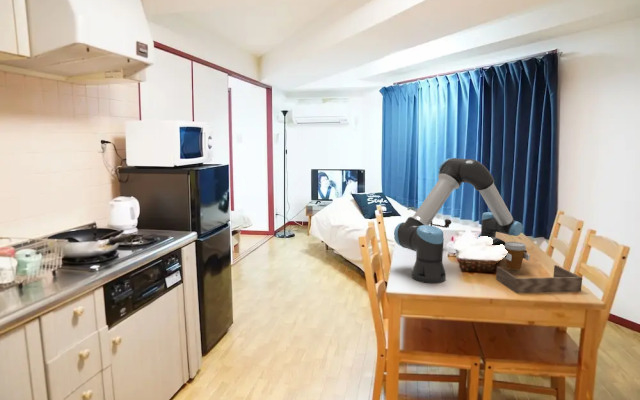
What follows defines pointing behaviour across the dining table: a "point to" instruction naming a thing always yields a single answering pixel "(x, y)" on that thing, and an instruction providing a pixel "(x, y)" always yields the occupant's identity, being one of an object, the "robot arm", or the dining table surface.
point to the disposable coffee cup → (515, 254)
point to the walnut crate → (541, 282)
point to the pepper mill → (447, 223)
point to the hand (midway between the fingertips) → (519, 257)
